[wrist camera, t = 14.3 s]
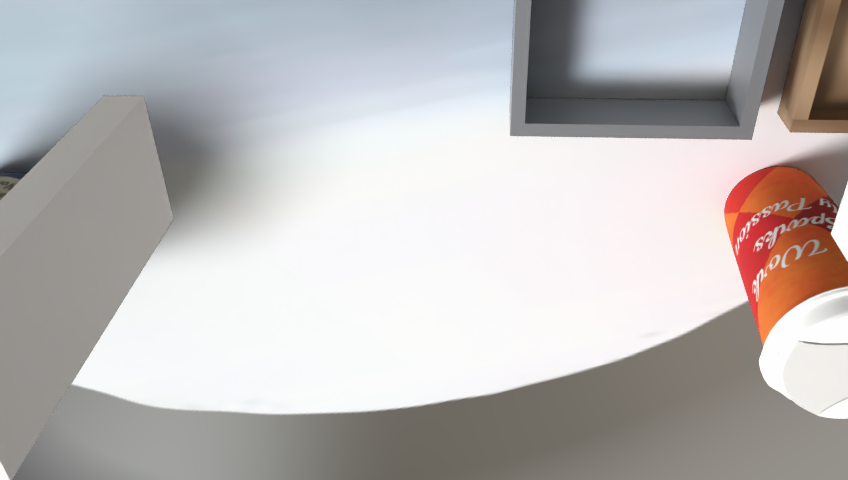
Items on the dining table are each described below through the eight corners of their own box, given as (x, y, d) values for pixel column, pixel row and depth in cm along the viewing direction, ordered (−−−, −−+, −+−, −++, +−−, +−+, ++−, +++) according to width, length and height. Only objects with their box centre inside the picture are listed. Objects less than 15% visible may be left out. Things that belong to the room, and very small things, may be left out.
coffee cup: (829, 131, 48) (944, 283, 35) (848, 236, 52) (957, 405, 39) (689, 175, 50) (751, 331, 38) (718, 272, 54) (782, 441, 42)
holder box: (519, -131, 41) (521, -118, 38) (790, -134, 40) (813, -121, 37) (509, 109, 48) (510, 135, 46) (736, 112, 47) (751, 139, 45)
